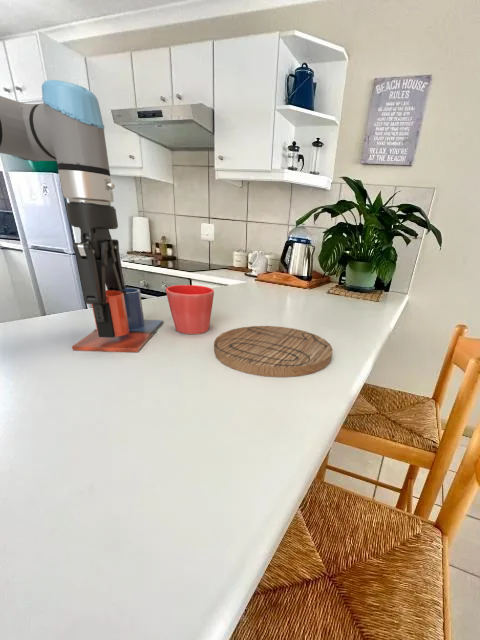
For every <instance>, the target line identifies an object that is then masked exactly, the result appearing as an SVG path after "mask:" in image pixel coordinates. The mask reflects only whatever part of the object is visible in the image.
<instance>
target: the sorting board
mask: <svg viewBox="0 0 480 640" xmlns="http://www.w3.org/2000/svg"><path fill="white" fill-rule="evenodd" d="M163 324H164V321H163V320H162V319H144V326H142V327H139V328H133V329H129V333H128V334H126V335H123V336H118V337H114V338H110V337H99V335H98V333H97V328H95V329H94V330H93V331H91V332H90V333H89V334H88V335H86V336H84V337H83V338H82V339H80V340H79V341H77V342H76V343H75V344H73V345H71V348H72V351H84V352H85V351H86V352H90V351H91V352H111V353H113V352H115V353H116V352H118V353H139V352H140V351H141V349H142V348H143V347H144V346H145V344H146V343H147V342H148V341H149V340H150V339H151V337H152V336H153V335H154V334H155V333H156V332H157V331H158V330H159V329H160V327H161V326H162V325H163Z"/></svg>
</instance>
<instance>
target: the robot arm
mask: <svg viewBox="0 0 480 640" xmlns="http://www.w3.org/2000/svg"><path fill="white" fill-rule="evenodd" d="M41 100H42V103H41V102H40V103H25V102H21V101H17V100H15V99H11V98H8V97H5V96H2V95H0V154H4V155H9V156H11V157H14V158H16V159H19V160H23V161H29V162H33V163H38V162H56V165H57V171H58V175H59V181H60V185H61V190H62V195H63V198H64V199H67V200H68V202H66V204H65V208H66V213H67V218H68V223H69V225H70V226H71V227H74V228H78V229H79V230H80V242H73V243H72V249H73V251H74V254H75V258H76V262H77V268H78V273H79V279H80V285H81V290H82V295H83V301H84V303H85V304H86V305H91V306H92V305H93V309H92V311H93V310H94V314H93V316H94V315H95V318H94V321H95V320H96V323H95V326H96V325H97V328H96V329H97V330H98V335H99V337H110V338H114V337H115V333H114V328H113V322H112V316H111V311H110V305H109V303H106V290H116V291H121V292H123V293H124V295H126V294H127V292H126V291H122V290H125V288H126V284H125V278H124V272H123V267H122V261H121V256H120V242H119V240H118V239H114V238H112V235H111V232H110V230H117V229H118V228H119V222H118V215H117V210H116V208H115V206H113V205H112V204H111V203H114V201H115V198H114V191H113V190H114V189H115V187H116V186H115V184H114V182H112V178H111V171H110V164H109V157H108V150H107V143H106V136H105V135H106V134H105V124H104V121H103V117H102V113H101V108H100V103H99V99H98V97H97V96H96V95H95V93H94V92H92V91H91V90H90V89H88V88H86V87H84V86H82V85H79V84H76V83H73V82H69V81H64V80H58V79H47V80H45V81H43V83H42V84H41Z"/></svg>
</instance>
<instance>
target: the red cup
mask: <svg viewBox="0 0 480 640" xmlns="http://www.w3.org/2000/svg"><path fill="white" fill-rule="evenodd" d="M106 303H109V305H110V311H111V316H112V322H113V328H114V333H115V337H118V336H123V335H126V334H128V333H129V325H128V318H127V312H126V306H125V299H124V293H123V292H121V291H116V290H107V289H106ZM91 309H92V313H93V318H94V323H95V329H97V325H96V320H95V315H94V310H93V305H92V304H91ZM97 333H98V330H97Z"/></svg>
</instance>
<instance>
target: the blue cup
mask: <svg viewBox="0 0 480 640" xmlns="http://www.w3.org/2000/svg"><path fill="white" fill-rule="evenodd" d="M122 291H126V292H127V294H126V295H124V299H125V306H126V312H127V318H128V325H129V329H133V328H139V327H142V326H144V320H145V317H144V311H143V301H142V293H141V290H140V288H134V287H125V290H122Z"/></svg>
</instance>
